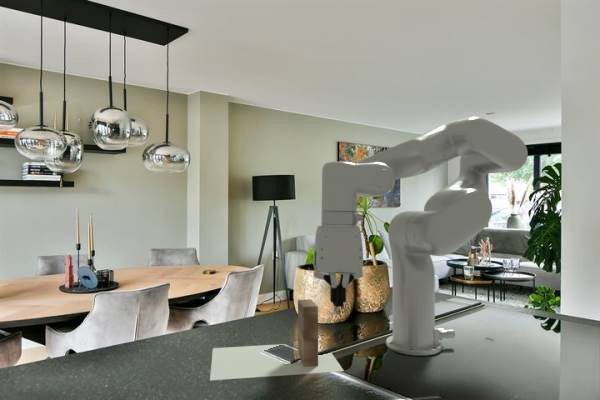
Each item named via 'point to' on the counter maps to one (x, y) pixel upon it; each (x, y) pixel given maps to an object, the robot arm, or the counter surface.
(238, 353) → the mat
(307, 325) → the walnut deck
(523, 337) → the counter surface
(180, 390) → the counter surface
